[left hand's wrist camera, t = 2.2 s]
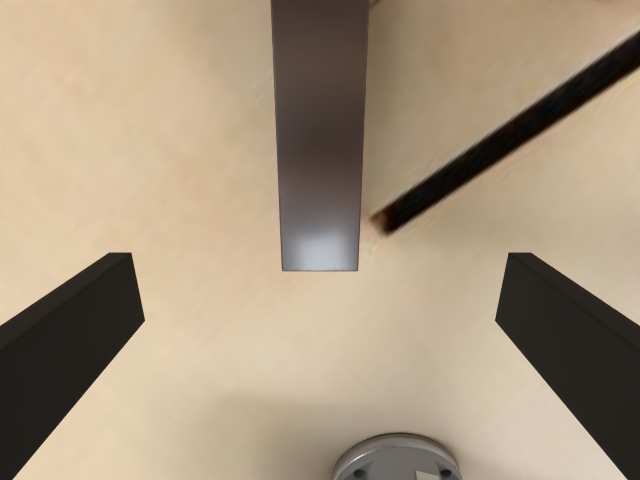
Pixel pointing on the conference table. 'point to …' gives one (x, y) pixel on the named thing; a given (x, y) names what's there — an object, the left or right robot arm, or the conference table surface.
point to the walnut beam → (320, 129)
